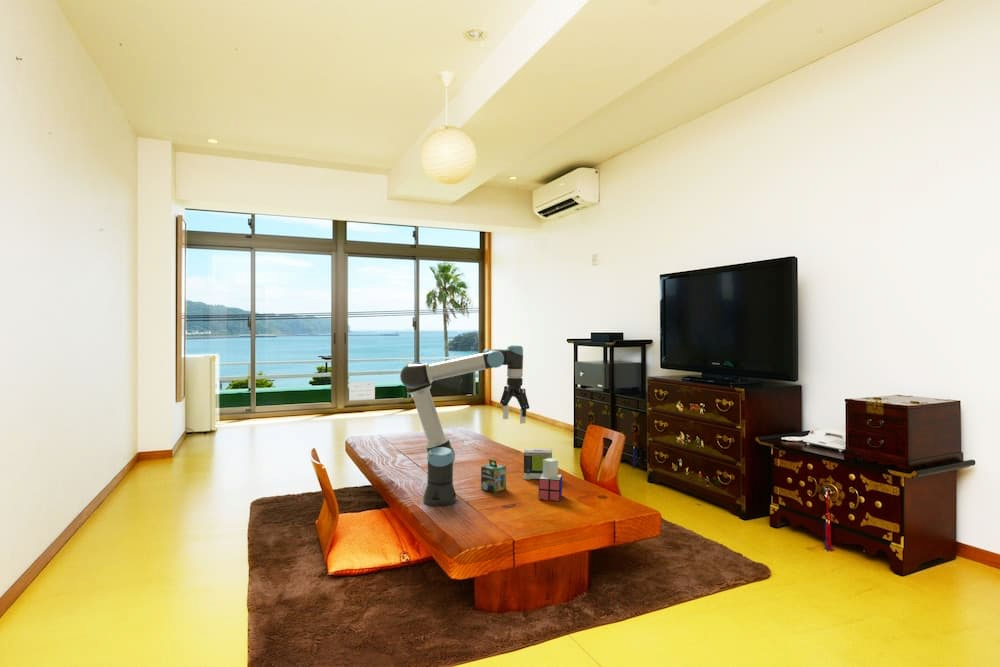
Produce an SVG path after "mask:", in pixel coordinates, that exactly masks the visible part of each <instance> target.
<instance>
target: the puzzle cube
mask: <svg viewBox="0 0 1000 667" xmlns="http://www.w3.org/2000/svg"><path fill="white" fill-rule="evenodd" d="M561 495H563V474H558V477H556V478H551V479H549V478H546V477H543V473H542V474H541V476H540V478H539V480H538V500H539V499H543V500H542V501H547V500H549V501H550V500H560V501H561V499H562V496H561ZM560 498H561V499H560Z"/></svg>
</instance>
